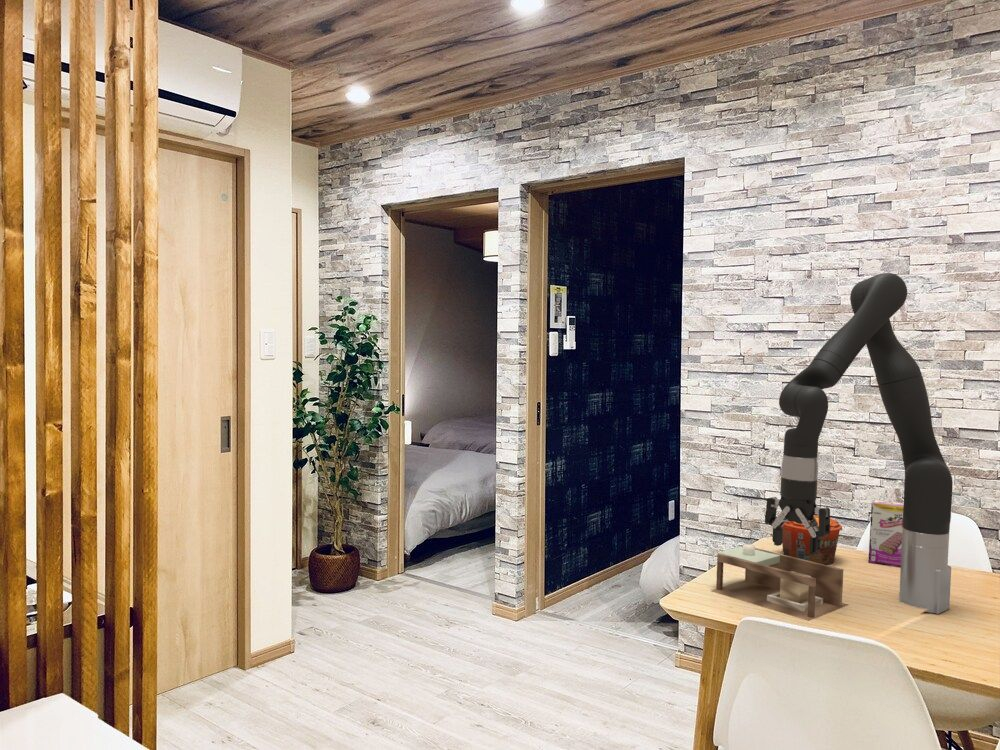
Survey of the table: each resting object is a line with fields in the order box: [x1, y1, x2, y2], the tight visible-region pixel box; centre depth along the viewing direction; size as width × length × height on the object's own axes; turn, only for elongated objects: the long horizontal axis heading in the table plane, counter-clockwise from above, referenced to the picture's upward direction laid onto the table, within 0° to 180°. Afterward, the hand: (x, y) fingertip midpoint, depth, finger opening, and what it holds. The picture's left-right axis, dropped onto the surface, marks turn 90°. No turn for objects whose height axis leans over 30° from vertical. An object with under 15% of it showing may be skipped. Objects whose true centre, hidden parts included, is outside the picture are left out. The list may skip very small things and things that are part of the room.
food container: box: [781, 514, 843, 566], centre depth 216 cm, size 16×16×11 cm
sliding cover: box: [717, 543, 780, 566], centre depth 184 cm, size 10×10×4 cm
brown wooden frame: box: [711, 547, 850, 622], centre depth 179 cm, size 24×17×9 cm
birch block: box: [780, 571, 811, 604], centre depth 176 cm, size 5×5×6 cm
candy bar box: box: [868, 499, 904, 567], centre depth 212 cm, size 11×5×16 cm, turn 59°
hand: (795, 549), depth 176 cm, fingers open, 8 cm apart
